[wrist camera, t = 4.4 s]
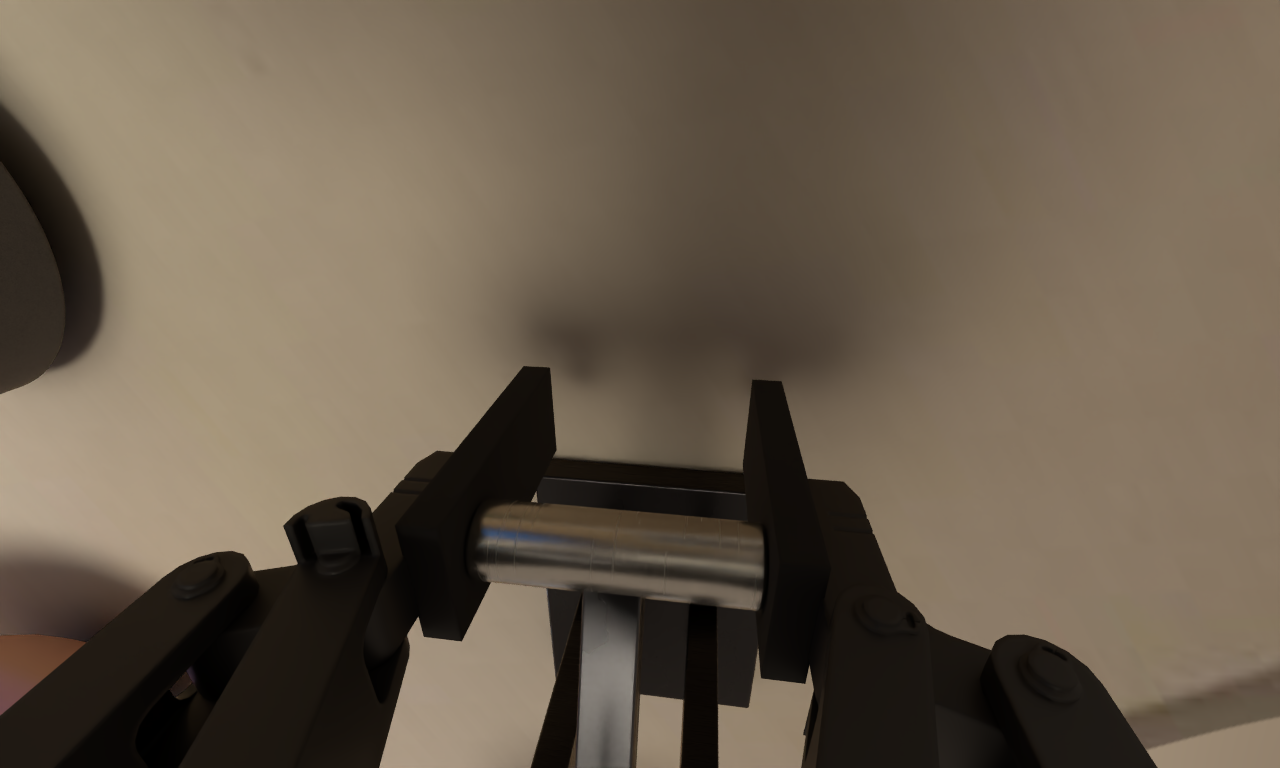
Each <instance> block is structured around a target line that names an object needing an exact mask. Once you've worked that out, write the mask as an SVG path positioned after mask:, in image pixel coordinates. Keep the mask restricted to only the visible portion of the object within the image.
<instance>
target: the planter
mask: <svg viewBox="0 0 1280 768" xmlns="http://www.w3.org/2000/svg"><path fill="white" fill-rule="evenodd" d="M64 328H65V300H64V292H63V287H62V282H61V278H60V274H59V270H58V267H57V264H56V261H55V258H54V255H53V252H52V250H51V247H50V245H49V242H48V240H47V238H46V235H45V233H44V231H43V229H42V227H41V225H40V223H39V221H38V219H37V217H36V215H35V213H34V212H33V210H32V208H31V206H30V205H29V203H28V201H27V199H26V198H25V196H24V194H23V193H22V191H21V190H20V188H19V187H18V185H17V184H16V182H15V181H14V179H13V178H12V176H11V175H10V173H9V172H8V171H7V169H6V168H5V167H4V165H3V164H2V163H1V161H0V394H2V393H4V392H7V391H10V390H13V389H15V388H18V387H21V386H24V385H26V384H28V383H30V382H32V381H33V380H35V379H37V378H38V377H39V376H41V375H42V374H43V373H44V372H45V371H46V370H47V369H48V368H49V366H50V365H51V364H52V362H53V361H54V359H55V357H56V356H57V354H58V351H59V349H60V346H61V343H62V340H63V335H64Z"/></svg>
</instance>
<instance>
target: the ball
mask: <svg viewBox="0 0 1280 768" xmlns="http://www.w3.org/2000/svg"><path fill="white" fill-rule="evenodd" d="M85 643H86V642H83V641H78V640H73V639H68V638H61V637H53V636H45V635H37V634H33V635H1V636H0V715H1V714H3V713H4V712H5V711H6V710H7V709H8V708H10V707H11V706H12V705H13V704H14V703H16V702H17V701H18V700H19V699H20V698H21V697H23V696H24V695H25V694H26V693H27V692H29V691H30V690H31V689H32V688H33V687H34V686H36V685H37V684H38V683H39V682H40V681H42V680H43V679H44V678H45V677H46V676H47V675H49V674H50V673H51V672H52V671H53V670H54V669H56V668H57V667H58V666H59V665H60V664H62V663H63V662H64V661H65V660H66V659H67V658H69V657H70V656H71V655H72V654H73V653H75V652H76V651H77V650H78V649H79V648H80V647H82V646H83V645H84V644H85Z"/></svg>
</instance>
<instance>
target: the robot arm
mask: <svg viewBox="0 0 1280 768" xmlns="http://www.w3.org/2000/svg"><path fill="white" fill-rule="evenodd" d="M556 450H557V449H556V437H555V424H554V412H553V399H552V386H551V374H550V368H546V367H529V366H523V368H522V369H521V370H520V371H519V373H518V374H517V375H516V376H515V378H514V379H513V380H512V381H511V383H510V384H509V385H508V386H507V387H506V389H505V390H504V391H503V392H502V394H501V395H500V396H499V397H498V399H497V400H496V401H495V402H494V403H493V405H492V406H491V407H490V408H489V410H488V411H487V412H486V413H485V415H484V416H483V417H482V418H481V420H480V421H479V422H478V423H477V424H476V426H475V427H474V428H473V429H472V431H471V432H470V433H469V434H468V436H467V437H466V438H465V439H464V440H463V442H462V443H461V444H460V445H459V447H458V448H457V449H456V450H455V452H444V451H436V452H434V453H433V454H431V455H429V456H428V457H426V458H425V459H423V460H421V461H420V462H418V463H417V464H416V465H415V466H414V467H413V468H412V469H411V471H410V472H409V473H408V474H407V475H406V476H405V477H404V478H405V479H404V480H402V481H401V482H400V483H399V484H398V485H397V486H396V487H395V488H394V492H393V493H392V492H391V493H390V494H389V495H388V496H387V497H386V499H385V500H384V501H383V502H382V503H381V504H380V505H379V506H378V507H377V509H376V510H375V511H374V512H373V513H372V511H371V508H370V507H369V505H368V504H367V502H366V501H364V500H361V499H359V498H356V497H337V498H332V499H327V500H323V501H321V502H318V503H315V504H313V505H310V506H308V507H306V508H305V509H303V510H301V511H300V512H298V513H297V514H295V515H293V516H292V518H291V519H290V520H289V521H288V522H287V523H286V524H285V525H284V529H285V532H286V534H287V537H288V539H289V542H290V545H291V547H292V550H293V552H294V555H295V557H296V560H297V563H298V564H297V565H294V566H287V567H280V568H273V569H267V570H260V571H253V570H252V568H251V565H250V563H249V561H248V560H247V558H246V557H245V556H244V554H241V553H237V552H233V551H227V552H216V553H212V554H209V555H205V556H202V557H198V558H196V559H194V560H192V561H190V562H187V563H185V564H183V565H181V566H179V567H178V568H176V569H175V570H173V571H172V572H170V573H169V574H167V575H166V576H165V577H163V578H162V579H161V580H160V581H158V582H157V583H156V584H155V585H154V586H152V587H151V588H150V589H149V590H148V591H147V592H145V593H144V594H143V595H142V596H141V597H140V598H138V599H137V600H136V601H135V602H134V603H132V604H131V605H130V606H129V607H128V608H127V609H125V610H124V611H123V612H122V613H121V614H119V615H118V616H117V617H116V618H115V619H114V620H112V621H111V622H110V623H109V624H108V625H106V626H105V627H104V628H103V629H102V630H101V631H99V632H98V633H97V634H96V635H95V636H93V637H92V638H91V639H90V640H89V641H88V642H86V643H85V644H84V645H83V646H82V647H80V648H79V649H78V650H77V651H76V652H75V653H73V654H72V655H71V656H70V657H69V658H67V659H66V660H65V661H64V662H63V663H62V664H60V665H59V666H58V667H57V668H56V669H54V670H53V671H52V672H51V673H50V674H49V675H47V676H46V677H45V678H44V679H43V680H42V681H40V682H39V683H38V684H37V685H36V686H34V687H33V688H32V689H31V690H30V691H29V692H27V693H26V694H25V695H24V696H23V697H21V698H20V699H19V700H18V701H17V702H16V703H14V704H13V705H12V706H11V707H10V708H8V709H7V710H6V711H5V712H4V713H3V714H1V715H0V768H379V766H380V762H381V759H382V755H383V751H384V747H385V744H386V740H387V736H388V733H389V729H390V725H391V722H392V718H393V714H394V710H395V707H396V703H397V699H398V696H399V692H400V688H401V685H402V681H403V677H404V674H405V670H406V666H407V662H408V659H409V649H410V645H409V641H408V638H407V634H408V632H409V631H410V629H411V627H412V626H413V624H414V622H415V621H416V619H417V618H418V616H419V620H420V624H421V628H422V631H423V635H424V637H430V638H438V639H446V640H455V641H462V640H463V638H464V636H465V634H466V632H467V630H468V628H469V626H470V624H471V622H472V620H473V618H474V616H475V614H476V612H477V610H478V608H479V606H480V604H481V602H482V600H483V598H484V596H485V593H486V591H487V589H488V587H489V585H490V583H491V582H486V581H477V580H474V579H472V578H471V577H470V576H469V575H468V573H467V570H466V566H465V543H466V537H467V532H468V528H469V525H470V522H471V519H472V517H473V514H474V512H475V511H476V509H477V507H478V506H479V505H480V503H481V502H483V501H484V500H487V499H490V498H491V499H503V500H514V501H525V502H531V501H532V499H533V497H534V494H535V492H536V490H537V488H538V486H539V484H540V482H541V480H542V478H543V476H544V474H545V472H546V470H547V468H548V466H549V464H550V462H551V460H552V458H553V456H554V454H555V452H556ZM743 471H744V483H745V495H746V506H747V518H748V521H750V522H760V523H762V524H763V525H764V526H765V529H766V533H767V539H768V556H769V568H768V587H767V595H766V600H765V604H764V607H763V609H762V610H759V611H755V613H756V625H757V636H758V648H759V660H760V672H761V678H763V679H771V680H779V681H787V682H796V683H804V684H805V682H806V678H807V673H808V669H809V664H810V670H811V676H812V681H813V687H814V692H813V696H812V700H811V704H810V709H809V713H808V717H807V721H806V725H805V729H804V733H803V735H806V738H805V746H804V753H803V760H802V767H801V768H1157V766H1156V765H1155V763H1154V762H1153V760H1152V759H1151V757H1150V756H1149V754H1148V753H1147V751H1146V750H1145V748H1144V747H1143V745H1142V744H1141V742H1140V741H1139V739H1138V737H1137V736H1136V734H1135V733H1134V731H1133V730H1132V728H1131V727H1130V725H1129V724H1128V722H1127V721H1126V719H1125V718H1124V716H1123V715H1122V713H1121V712H1120V710H1119V709H1118V707H1117V706H1116V704H1115V702H1114V701H1113V699H1112V698H1111V696H1110V695H1109V693H1108V692H1107V690H1106V689H1105V687H1104V686H1103V684H1102V683H1101V682H1100V681H1099V680H1098V679H1097V677H1096V676H1095V675H1094V674H1093V673H1092V672H1091V670H1090V669H1089V668H1088V667H1087V666H1086V665H1084V664H1083V663H1082V662H1080V661H1079V660H1078V659H1076V658H1075V657H1074V656H1073V655H1071V654H1070V653H1069V652H1067V651H1065V650H1063V649H1061V648H1059V647H1057V646H1056V645H1054V644H1052V643H1050V642H1048V641H1046V640H1042V639H1039V638H1035V637H1031V636H1028V635H1006V636H1004V637H1003V638H1001V639H999V640H997V641H996V642H995V644H994V646H993V648H992V650H989V649H986V648H983V647H981V646H978V645H975V644H972V643H969V642H967V641H964V640H961V639H958V638H956V637H953V636H950V635H948V634H946V633H943V632H941V631H939V630H937V629H935V628H933V627H932V626H930V625H928V624H927V623H926V621H925V618H924V617H923V615H922V614H921V613H920V612H919V610H918V609H917V608H916V607H915V605H914V604H913V603H911V602H910V601H909V600H907V599H906V598H905V597H903V596H902V595H901V594H899V593H898V592H897V591H896V588H895V586H894V583H893V581H892V578H891V576H890V573H889V571H888V568H887V566H886V563H885V561H884V558H883V556H882V553H881V550H880V548H879V545H878V543H877V540H876V538H875V535H874V534H873V533H872V531H873V530H872V528H871V525H870V523H869V520H868V519H867V515H866V513H865V510H864V508H863V505H862V502H861V500H860V498H859V497H858V496H857V495H856V494H855V493H854V492H853V491H852V490H851V489H850V488H849V487H848V486H847V485H846V484H845V483H844V482H841V481H829V480H816V479H807V475H806V471H805V468H804V464H803V460H802V456H801V453H800V449H799V445H798V441H797V438H796V434H795V430H794V426H793V423H792V419H791V415H790V411H789V408H788V404H787V400H786V396H785V393H784V389H783V385H782V381H768V380H752V388H751V397H750V406H749V415H748V423H747V432H746V441H745V450H744V459H743ZM185 672H187V673H188V675H189V677H190V678H191V680H192V682H193V683H192V684H191V685H190V686H189V687H188V688H187V689H186V690H185V691H184V692H182V693H181V694H180V695H179V696H177V697H174V696H173V695H172V693H171V692H170V690H169V689H170V688H171V687H172V686H173V685H174V684H175V682H176V681H177V680H178V679H179V678H180V677H181V676H182V675H183V674H184V673H185Z"/></svg>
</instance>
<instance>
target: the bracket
mask: <svg viewBox="0 0 1280 768" xmlns="http://www.w3.org/2000/svg"><path fill="white" fill-rule="evenodd" d="M536 491H537V501H538V503H548V504H559V505H570V506H581V507H592V508H604V509H615V510H626V511H637V512H649V513H660V514H671V515H682V516H694V517H705V518H716V519H727V520H739V521H748V518H747V506H746V495H745V483H744V474H735V473H722V472H709V471H697V470H684V469H671V468H659V467H646V466H633V465H621V464H608V463H595V462H583V461H570V460H557V459H552V460H551V462H550V464H549V466H548V468H547V470H546V472H545V474H544V476H543V478H542V480H541V482H540V484H539V486H538V488H537V490H536ZM546 589H547V598H548V608H549V618H550V628H551V637H552V647H553V657H554V667H555V676H556V681H555V685H554V688H553V692H552V695H551V699H550V702H549V706H548V709H547V713H546V716H545V720H544V723H543V726H542V730H541V733H540V737H539V740H538V744H537V747H536V751H535V754H534V758H533V761H532V764H531V768H575V752H576V730H577V708H578V686H579V664H580V642H581V620H582V598H583V592H578V591H569V590H560V589H551V588H546ZM757 651H758V636H757V625H756V613H755V611H754V610H745V609H736V608H726V607H717V606H708V605H699V604H689V603H680V602H671V601H662V600H652V599H645V613H644V632H643V650H642V668H641V686H640V694H643V695H651V696H658V697H666V698H674V699H682V700H683V715H682V733H681V752H680V768H718V704H720V705H728V706H736V707H744V708H748V707H749V703H750V696H751V690H752V683H753V677H754V670H755V664H756V658H757Z"/></svg>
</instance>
